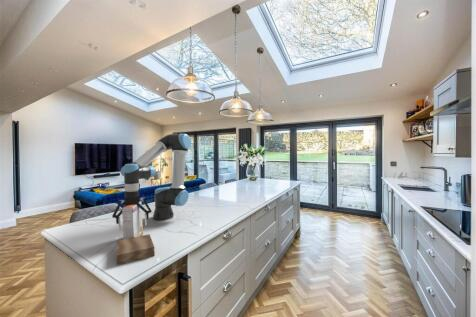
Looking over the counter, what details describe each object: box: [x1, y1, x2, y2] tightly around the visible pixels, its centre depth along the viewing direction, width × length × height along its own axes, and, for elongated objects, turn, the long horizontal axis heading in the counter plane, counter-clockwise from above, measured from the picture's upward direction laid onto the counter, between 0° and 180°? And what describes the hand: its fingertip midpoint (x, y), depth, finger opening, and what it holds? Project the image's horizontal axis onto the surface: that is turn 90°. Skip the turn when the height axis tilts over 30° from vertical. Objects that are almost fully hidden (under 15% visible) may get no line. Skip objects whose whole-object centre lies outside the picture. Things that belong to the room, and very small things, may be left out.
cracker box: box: [121, 200, 144, 239], centre depth 121 cm, size 14×6×21 cm, turn 6°
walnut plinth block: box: [116, 233, 156, 266], centre depth 106 cm, size 16×18×5 cm
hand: (133, 226), depth 121 cm, fingers open, 13 cm apart
